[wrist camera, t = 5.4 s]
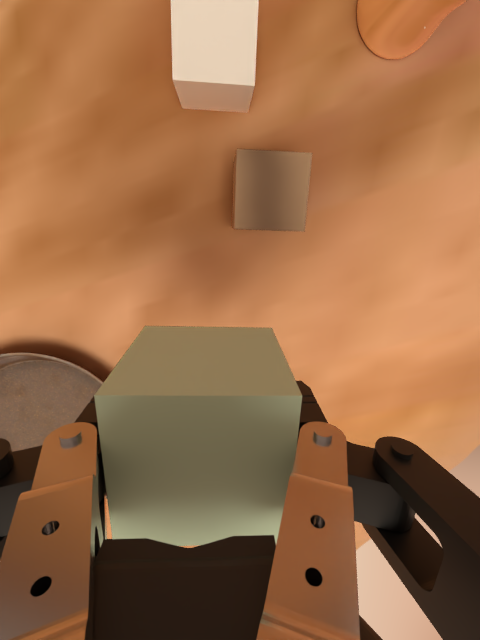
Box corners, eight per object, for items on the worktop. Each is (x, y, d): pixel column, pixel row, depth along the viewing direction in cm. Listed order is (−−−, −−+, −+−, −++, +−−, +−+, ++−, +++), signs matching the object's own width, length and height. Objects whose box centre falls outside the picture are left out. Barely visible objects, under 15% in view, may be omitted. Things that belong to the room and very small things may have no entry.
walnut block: (294, 165, 25) (312, 152, 20) (289, 229, 27) (304, 231, 22) (233, 162, 25) (236, 148, 20) (231, 227, 26) (234, 228, 21)
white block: (251, 33, 22) (259, -19, 17) (247, 113, 24) (254, 85, 19) (181, 27, 22) (170, -27, 17) (182, 108, 23) (172, 79, 19)
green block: (271, 327, 12) (302, 395, 8) (264, 432, 14) (286, 543, 9) (144, 325, 12) (94, 395, 7) (151, 432, 14) (113, 547, 9)
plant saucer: (-81, 374, 29) (-115, 391, 26) (95, 316, 28) (81, 327, 25) (18, 508, 34) (0, 535, 31) (168, 462, 33) (163, 485, 31)
